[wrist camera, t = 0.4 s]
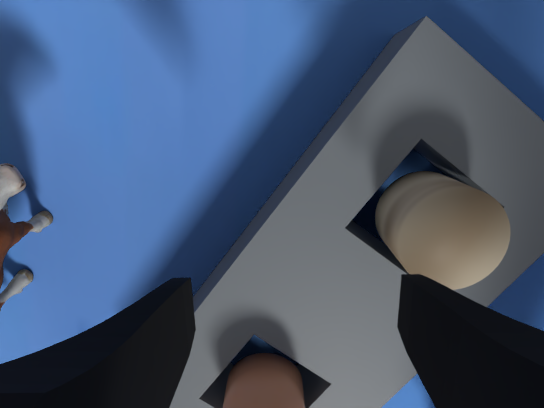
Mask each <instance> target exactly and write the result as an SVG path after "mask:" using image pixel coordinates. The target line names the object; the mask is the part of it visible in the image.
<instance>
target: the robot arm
mask: <svg viewBox="0 0 544 408" xmlns="http://www.w3.org/2000/svg"><path fill="white" fill-rule="evenodd" d="M397 328H398V331H399V333H400V336H401V339H402V342H403V345H404V347H405V350H406V352H407V354H408V356H409V358H410V360H411V362H412V364H413V366H414V368H415V370H416V372H417V374H418V375H419V377H420V379H421V381H422V383H423V385H424V387H425V388H426V390H427V392H428V394H429V396H430V398H431V400H432V401H433V403H434V405H435V407H436V408H544V331H542V330H539V329H537V328H534V327H532V326H529V325H526V324H524V323H521V322H519V321H516V320H514V319H512V318H509V317H507V316H505V315H502V314H500V313H498V312H496V311H494V310H492V309H489V308H487V307H485V306H483V305H481V304H479V303H477V302H475V301H473V300H471V299H469V298H467V297H465V296H463V295H461V294H459V293H457V292H455V291H454V290H452V289H450V288H448V287H446V286H444V285H442V284H440V283H438V282H436V281H434V280H432V279H430V278H428V277H426V276H424V275H421V274H401V287H400V299H399V311H398V323H397ZM195 331H196V326H195V316H194V306H193V296H192V285H191V278H172V279H170V280H169V281H167V282H165V283H164V284H162V285H161V286H159V287H158V288H156V289H155V290H153V291H152V292H150V293H149V294H147V295H146V296H144V297H143V298H141V299H140V300H138V301H137V302H135V303H134V304H132V305H130V306H129V307H127V308H125V309H124V310H122V311H120V312H119V313H117V314H116V315H114V316H112V317H111V318H109V319H107V320H105V321H104V322H102V323H100V324H98V325H96V326H94V327H92V328H90V329H88V330H86V331H84V332H82V333H80V334H78V335H76V336H74V337H71V338H69V339H67V340H64V341H62V342H59V343H57V344H54V345H52V346H50V347H47V348H45V349H42V350H40V351H37V352H35V353H32V354H29V355H26V356H23V357H21V358H18V359H15V360H12V361H8V362H5V363H2V364H0V408H169V407H170V405H171V402H172V400H173V397H174V395H175V392H176V390H177V387H178V384H179V382H180V379H181V377H182V374H183V372H184V369H185V366H186V364H187V361H188V358H189V356H190V352H191V348H192V344H193V340H194V335H195Z"/></svg>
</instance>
